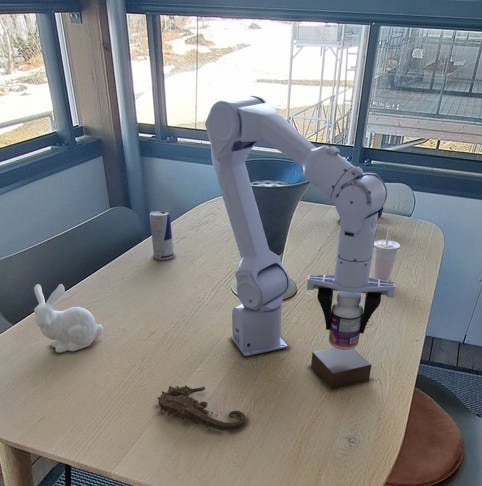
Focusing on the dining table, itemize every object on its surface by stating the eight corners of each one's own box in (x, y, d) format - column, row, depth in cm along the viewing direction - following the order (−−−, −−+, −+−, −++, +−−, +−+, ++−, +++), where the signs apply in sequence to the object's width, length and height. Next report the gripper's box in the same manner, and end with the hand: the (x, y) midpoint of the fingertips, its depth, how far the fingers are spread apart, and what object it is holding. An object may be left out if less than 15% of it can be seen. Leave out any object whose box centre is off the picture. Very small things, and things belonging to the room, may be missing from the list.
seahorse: (211, 447, 82) (210, 432, 80) (146, 404, 91) (144, 389, 89) (251, 421, 88) (251, 406, 86) (186, 382, 97) (185, 368, 95)
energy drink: (177, 255, 146) (174, 211, 139) (165, 262, 142) (160, 217, 135) (162, 251, 148) (158, 208, 141) (150, 257, 145) (145, 213, 138)
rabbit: (45, 358, 103) (30, 302, 96) (40, 336, 109) (25, 283, 102) (108, 345, 107) (98, 291, 100) (98, 325, 114) (88, 272, 106)
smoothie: (365, 284, 132) (373, 228, 124) (371, 274, 137) (379, 220, 129) (391, 288, 130) (401, 232, 122) (395, 278, 135) (405, 224, 127)
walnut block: (331, 389, 95) (333, 373, 93) (310, 367, 101) (312, 351, 99) (369, 380, 98) (371, 364, 96) (347, 359, 104) (349, 343, 102)
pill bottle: (327, 335, 98) (332, 286, 92) (356, 335, 98) (363, 287, 92) (329, 350, 94) (335, 300, 88) (360, 351, 93) (367, 301, 88)
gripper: (399, 250, 88) (386, 322, 96) (312, 243, 90) (307, 314, 98) (400, 266, 82) (386, 341, 90) (307, 258, 85) (302, 332, 93)
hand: (345, 329), depth 94 cm, fingers closed on pill bottle, 5 cm apart
